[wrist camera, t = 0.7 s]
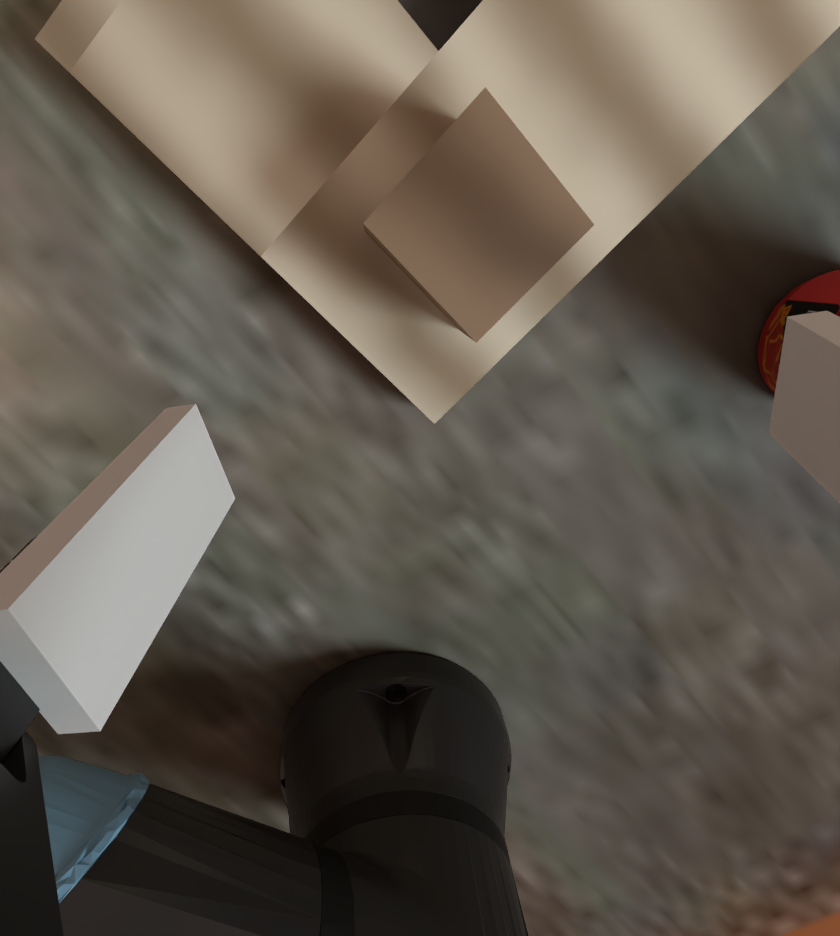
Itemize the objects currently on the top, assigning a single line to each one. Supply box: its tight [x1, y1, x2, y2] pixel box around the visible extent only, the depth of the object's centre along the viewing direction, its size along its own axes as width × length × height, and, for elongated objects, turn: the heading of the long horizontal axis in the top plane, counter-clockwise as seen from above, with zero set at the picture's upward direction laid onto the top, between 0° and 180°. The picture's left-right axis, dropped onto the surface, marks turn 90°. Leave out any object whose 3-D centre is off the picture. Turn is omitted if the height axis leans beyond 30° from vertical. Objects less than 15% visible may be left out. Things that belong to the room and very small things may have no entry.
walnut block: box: [363, 87, 594, 343], centre depth 23 cm, size 6×6×5 cm
